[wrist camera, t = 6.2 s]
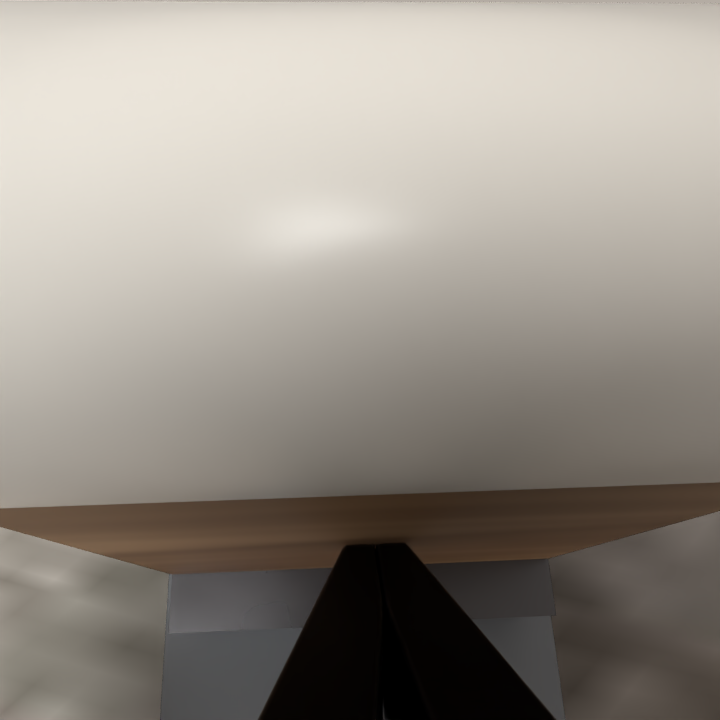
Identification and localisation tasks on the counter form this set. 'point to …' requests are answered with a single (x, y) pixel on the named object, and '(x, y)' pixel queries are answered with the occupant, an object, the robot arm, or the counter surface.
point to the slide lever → (356, 288)
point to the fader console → (273, 646)
